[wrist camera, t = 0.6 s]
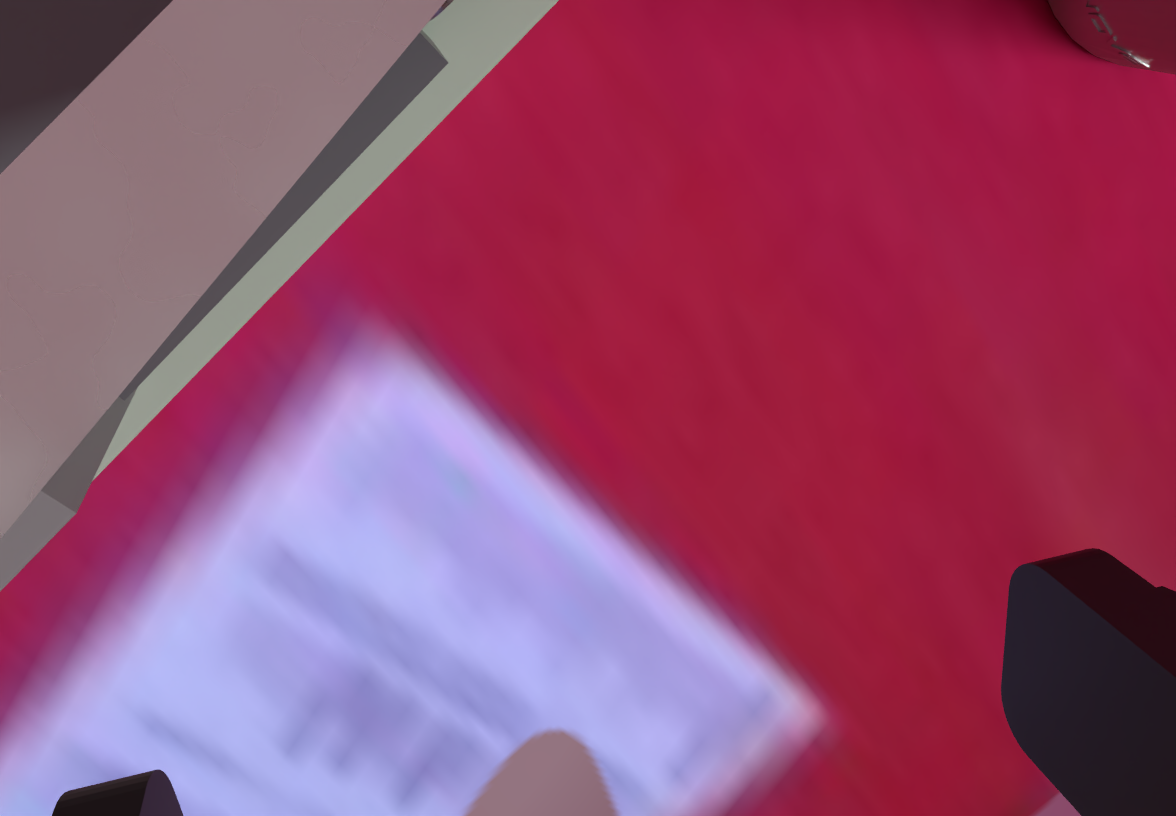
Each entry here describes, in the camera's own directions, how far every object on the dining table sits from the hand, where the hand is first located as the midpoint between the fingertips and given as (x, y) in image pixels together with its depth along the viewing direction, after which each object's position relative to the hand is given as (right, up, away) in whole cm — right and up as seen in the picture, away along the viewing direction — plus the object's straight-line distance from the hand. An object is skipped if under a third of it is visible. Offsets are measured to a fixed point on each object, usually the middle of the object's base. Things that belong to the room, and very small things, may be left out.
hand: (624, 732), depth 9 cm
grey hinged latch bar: (-8, +6, +7) cm, 12 cm away
